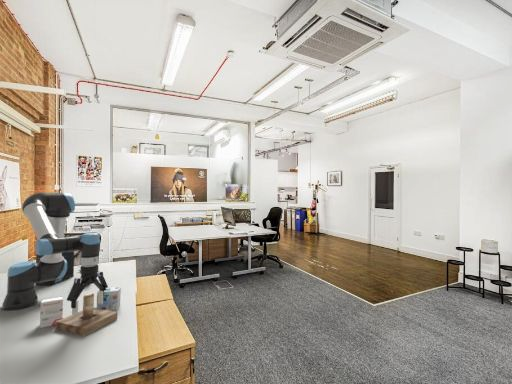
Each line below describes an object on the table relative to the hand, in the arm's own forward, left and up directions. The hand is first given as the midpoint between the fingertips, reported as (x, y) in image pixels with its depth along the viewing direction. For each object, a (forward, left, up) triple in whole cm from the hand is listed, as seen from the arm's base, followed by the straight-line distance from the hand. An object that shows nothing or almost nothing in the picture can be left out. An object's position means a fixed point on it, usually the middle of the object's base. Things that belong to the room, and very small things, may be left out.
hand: (88, 308), depth 131 cm
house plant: (-52, +44, -7) cm, 69 cm away
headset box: (-80, +41, -8) cm, 90 cm away
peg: (0, 0, -7) cm, 7 cm away
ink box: (-16, -6, -8) cm, 19 cm away
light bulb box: (-5, +17, -8) cm, 19 cm away
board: (0, 0, -7) cm, 7 cm away
